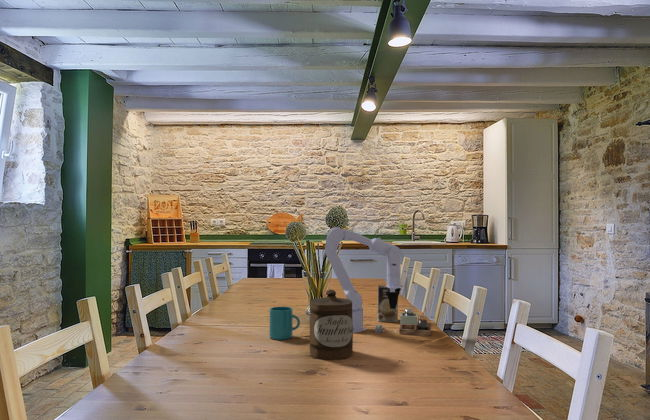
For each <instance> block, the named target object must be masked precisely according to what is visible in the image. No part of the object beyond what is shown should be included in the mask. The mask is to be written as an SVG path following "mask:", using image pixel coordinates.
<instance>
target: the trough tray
mask: <svg viewBox="0 0 650 420" xmlns="http://www.w3.org/2000/svg"><path fill="white" fill-rule="evenodd" d="M398 334H399V335H403V336H405V335H406V336H420V337H421V336H422V337H432V325H428V324H427V330H418V325H411V324H400V325H399V332H398Z"/></svg>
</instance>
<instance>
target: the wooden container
mask: <svg viewBox="0 0 650 420" xmlns="http://www.w3.org/2000/svg"><path fill="white" fill-rule="evenodd" d="M325 294H326V297H319V298H315V299H314V298H313V299H311V300H310V301H309V303H310V304H309V307H310V309H309V310H310V315H309V316H310V317H309V318H310V319H309V321H310V322H309V323H310V324H309V325H310V326H309V354H310V356H311V357H314V358H317V359H320V360H327V361H329V360H331V361H333V360H335V361H336V360H343V359H344V360H345V359H347V358H349V357H351V356H352V355H353V345H354V344H353V341H354V336H353V335H354V333H353V324H352V301H351V300H349V299H347V298H343V297H338V296H336V294H337V291H336V290H335V289H328V290H326V293H325Z"/></svg>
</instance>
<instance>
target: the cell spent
mask: <svg viewBox="0 0 650 420" xmlns="http://www.w3.org/2000/svg"><path fill="white" fill-rule="evenodd" d="M404 313H405V316H413V313H414V309H412V308H405V309H404Z"/></svg>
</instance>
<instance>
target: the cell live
mask: <svg viewBox="0 0 650 420" xmlns="http://www.w3.org/2000/svg"><path fill="white" fill-rule="evenodd" d="M427 325H428V316H427V315H425V314H421V315H418V330H427Z"/></svg>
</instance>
